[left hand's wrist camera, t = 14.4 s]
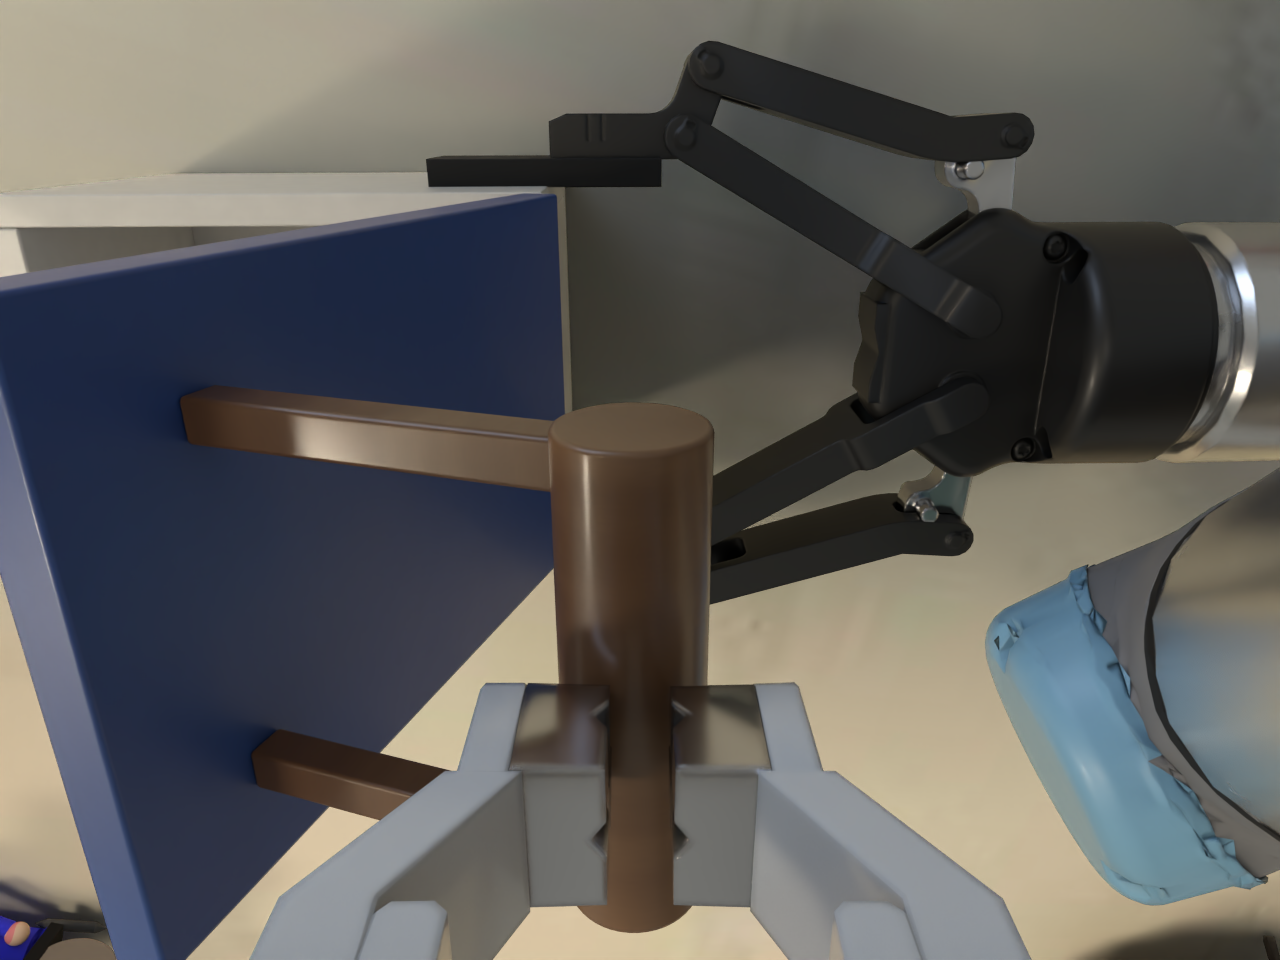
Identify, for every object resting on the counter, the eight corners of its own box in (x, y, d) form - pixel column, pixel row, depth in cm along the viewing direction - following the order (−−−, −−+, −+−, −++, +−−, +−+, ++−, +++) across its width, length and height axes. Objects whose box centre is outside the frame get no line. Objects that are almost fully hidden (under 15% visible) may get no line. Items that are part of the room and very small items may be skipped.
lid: (114, 963, 13) (640, 1156, 11) (-90, 291, 10) (633, 345, 7) (539, 546, 26) (822, 589, 24) (522, 192, 23) (853, 199, 20)
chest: (218, 431, 36) (69, 547, 26) (170, 173, 33) (-24, 195, 23) (573, 427, 37) (556, 540, 27) (564, 171, 33) (541, 191, 23)
